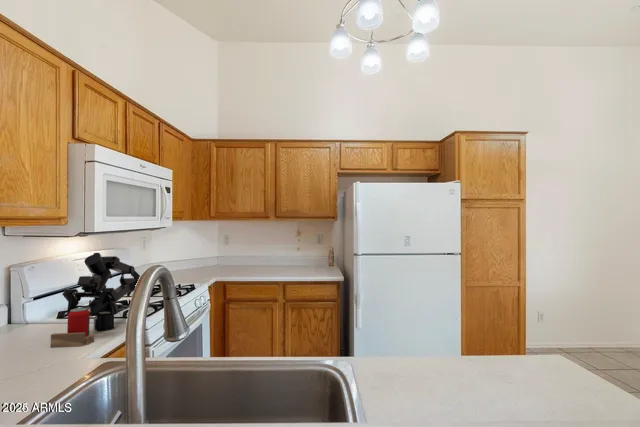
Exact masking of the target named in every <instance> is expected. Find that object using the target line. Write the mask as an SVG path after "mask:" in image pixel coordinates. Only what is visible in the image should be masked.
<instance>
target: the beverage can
mask: <svg viewBox="0 0 640 427" xmlns="http://www.w3.org/2000/svg"><path fill="white" fill-rule="evenodd" d="M90 317H91V311H90V310H89V308H88V307H78V308H75V309H72V310H70V313H69V314H67V329H66V330H67V332H66V333H83V332H85V337H87V336H89V335H90V321H91V320H90V319H91V318H90Z"/></svg>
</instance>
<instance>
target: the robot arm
mask: <svg viewBox="0 0 640 427" xmlns="http://www.w3.org/2000/svg"><path fill="white" fill-rule="evenodd" d="M83 262H84V264H85V266H86V267H87V269H88V270H89V272H90V273H91V274H93V275H88V276H87V275H86V276H85V275H82V276H79V278H78V281H77V284H76V285H77V286H80V287H81V290H82V291H78V289H77V288H67V289H64V291H63V292H62V294H61V295H62V296H63V297H64V299H65V300H66V301H67V308H66V309H67V310H66V313H67V314H66V315H68V314H69V313H70V310H72V309H76V307H78V305H79V304H80V301H81V299H82V298H90V299H91V298H93V299H92V300H91V302H90V304H89V309H90V310H89V312H90V317H95V318H94V319H93V330H94V331H95V332H97V333H98V332H104V331H110V330H115V329H116V326H115V325H114V324H115V315H118V313H119V306H118V305H117V302H118V301H119V300H121V299H122V298H123V297H124V296H126V295H127V294H129V292H133V290H134V288H135V285H136V283H137V281H138V279H139V277H140V278H141V276H140V273H138V272H137V271H136V269H135V266H134V265H130V264H127V263H125V262H122V261H121V259H120V258H119V257H118V256H116V255H114V256H111V255H110V256H102V255H101V252H94V253H93V254H91V255H89V256H87V257H86V258H85V259H84V261H83ZM111 271H115V272H118V273H120V274H121V276H120V277H119V284H120V285H119V286H117V287H116V288H114V287H107V283H108V280H109V279H113V274H112V272H111ZM125 275H130V276H132V277H129V278H128V277H126V278H125Z"/></svg>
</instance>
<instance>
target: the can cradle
mask: <svg viewBox="0 0 640 427" xmlns="http://www.w3.org/2000/svg"><path fill="white" fill-rule="evenodd" d="M94 342H95V334H89V336H87V337H85V332H83V333H67V332H63V333H62V332H59V333H56V332H55V333H52V334H50V348H72V347H73V348H75V347H84V346H87V345H90V344H92V343H94Z"/></svg>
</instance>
